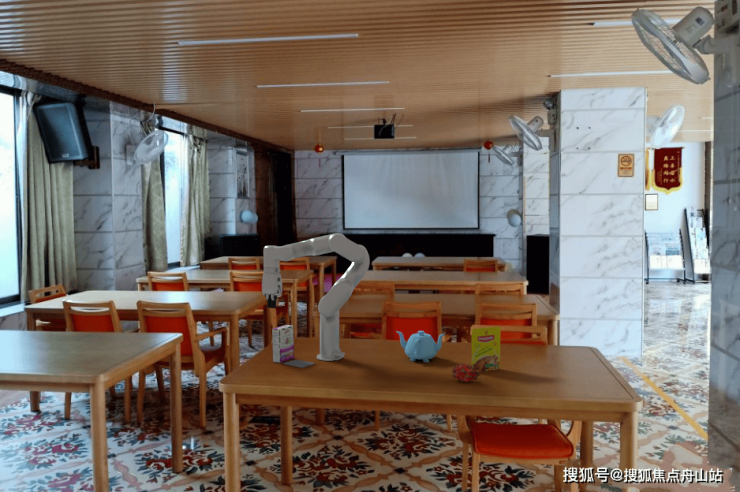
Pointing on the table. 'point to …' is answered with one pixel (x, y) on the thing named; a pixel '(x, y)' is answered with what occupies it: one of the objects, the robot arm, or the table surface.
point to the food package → (485, 349)
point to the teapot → (420, 346)
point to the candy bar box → (283, 343)
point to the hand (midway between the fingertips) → (271, 307)
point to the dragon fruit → (465, 373)
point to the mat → (298, 363)
